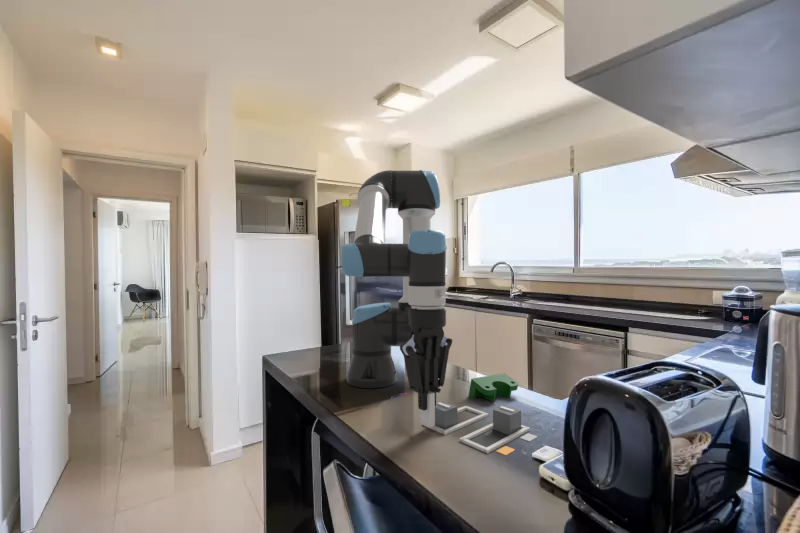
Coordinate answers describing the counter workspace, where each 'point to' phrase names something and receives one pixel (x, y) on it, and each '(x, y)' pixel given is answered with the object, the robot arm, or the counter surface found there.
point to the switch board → (466, 439)
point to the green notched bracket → (492, 386)
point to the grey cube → (506, 419)
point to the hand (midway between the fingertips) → (427, 424)
